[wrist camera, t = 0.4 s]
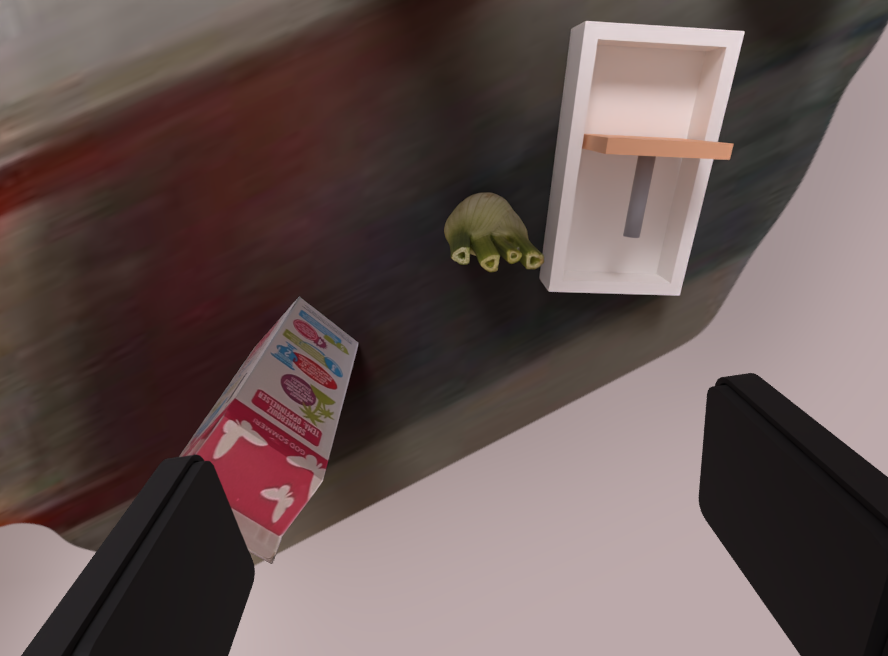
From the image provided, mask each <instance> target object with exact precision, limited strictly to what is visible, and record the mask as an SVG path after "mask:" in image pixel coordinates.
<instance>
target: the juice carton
mask: <svg viewBox="0 0 888 656" xmlns="http://www.w3.org/2000/svg"><path fill="white" fill-rule="evenodd" d="M358 344H359V343H358V342H357V341H356V340H354V339H353V338H352V337H350V336H349V335H348V334H347V333H345V332H344V331H343V330H341V329H340V328H339V327H338V326H336V325H335V324H334V323H333V322H331V321H330V320H329V319H327V318H326V317H325V316H324V315H322V314H321V313H320V312H319V311H317V310H316V309H315V308H313V307H312V306H311V305H310V304H308V303H307V302H306V301H304V300H303V299H302V298H301V297H298V299H297V300H296V301H295V302H294V303H293V304H292V305H291V307H290V308H289V309H288V310H287V311H286V312H285V313H284V315H283V316H282V317H281V318H280V319H279V320H278V321H277V322H276V324H275V325H274V326H273V327H272V328H271V329H270V330H269V332H268V333H267V334H266V335H265V336H264V337H263V338H262V340H261V341H260V342H259V343H258V344H257V345H256V346H255V348H254V349H253V350H252V352H251V353H250V355H249V356H248V358H247V359H246V361H245V362H244V363H243V365H242V366H241V368H240V369H239V371H238V372H237V374H236V375H235V376H234V378H233V379H232V381H231V382H230V384H229V385H228V387H227V388H226V389H225V391H224V392H223V394H222V395H221V397H220V398H219V400H218V401H217V403H216V404H215V405H214V407H213V408H212V410H211V411H210V413H209V414H208V416H207V417H206V418H205V420H204V421H203V423H202V424H201V426H200V427H199V429H198V430H197V432H196V433H195V434H194V436H193V437H192V439H191V440H190V442H189V443H188V445H187V446H186V447H185V449H184V450H183V452H182V453H181V455H180V456H179V457H182V456H189V455H200V456H201V457H202V458H203V459H204V461H210V462H211V463H213V465H214V467H215V469H216V472H217V474H218V477H219V479H220V482H221V484H222V487H223V489H224V492H225V494H226V496H227V499H228V501H229V504H230V506H231V509H232V511H233V514H234V516H235V519H236V521H237V523H238V526H239V528H240V531H241V533H242V536H243V538H244V541H245V543H246V546H247V548H248V550H249V552H251V553H253V554H255V555H256V556H258V557H260V558H262V559H263V560H265V561H267V562H269V563H270V564H272V563H273V561H274V559H275V556H276V553H277V550H278V548H279V545H280V542H281V539H282V538H281V537H282V536H283V534H284V533H285V532H286V530H287V529H288V528H289V526H290V525H291V524H292V522H293V521H294V520H295V518H296V517H297V516H298V514H299V513H300V512H301V510H302V509H303V508H304V506H305V505H306V504H307V502H308V501H309V500H310V498H311V497H312V496H313V494H314V493H315V492H316V490H317V489H318V487H319V486H320V484H321V483H322V481H323V479H324V476H325V472H326V468H327V464H328V460H329V456H330V452H331V449H332V445H333V441H334V437H335V433H336V429H337V425H338V421H339V417H340V413H341V409H342V406H343V402H344V398H345V394H346V390H347V386H348V383H349V379H350V375H351V371H352V367H353V363H354V360H355V356H356V352H357V348H358ZM271 562H272V563H271Z"/></svg>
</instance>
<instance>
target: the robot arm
mask: <svg viewBox="0 0 888 656" xmlns="http://www.w3.org/2000/svg"><path fill="white" fill-rule="evenodd" d="M699 505H700V509H701V512H702V514H703V516H704V518H705V519H706V521H707V522H708V524H709V525H710V527H711V528H712V530H713V531H714V532H715V534H716V535H717V537H718V538H719V540H720V541H721V542H722V544H723V545H724V547H725V548H726V550H727V551H728V552H729V554H730V555H731V557H732V558H733V560H734V561H735V562H736V564H737V565H738V567H739V568H740V570H741V571H742V572H743V574H744V575H745V577H746V578H747V580H748V581H749V582H750V584H751V585H752V587H753V588H754V590H755V591H756V592H757V594H758V595H759V597H760V598H761V600H762V601H763V602H764V604H765V605H766V607H767V608H768V610H769V611H770V612H771V614H772V615H773V617H774V618H775V619H776V621H777V622H778V624H779V625H780V627H781V628H782V630H783V631H784V632H785V634H786V635H787V637H788V638H789V640H790V641H791V642H792V644H793V645H794V647H795V648H796V650H797V651H798V652H799V654H800V655H801V656H888V477H887V476H886V475H884V474H883V473H882V472H881V471H879V470H878V469H877V468H875V467H874V466H873V465H871V464H870V463H869V462H868V461H866V460H865V459H864V458H863V457H861V456H860V455H859V454H858V453H856V452H855V451H854V450H852V449H851V448H850V447H849V446H847V445H846V444H845V443H844V442H842V441H841V440H840V439H838V438H837V437H836V436H835V435H833V434H832V433H831V432H829V431H828V430H827V429H826V428H824V427H823V426H822V425H821V424H819V423H818V422H817V421H815V420H814V419H813V418H812V417H810V416H809V415H808V414H807V413H805V412H804V411H803V410H801V409H800V408H799V407H798V406H796V405H795V404H793V403H792V402H791V401H790V400H789V399H787V398H786V397H785V396H784V395H782V394H781V393H780V392H778V391H777V390H776V389H775V388H773V387H772V386H771V385H770V384H768V383H767V382H766V381H764V380H763V379H762V378H761V377H759V376H758V375H756V374H754V373H748V374H742V375H734V376H728V377H721V378H719V379H718V380H717V382H716V384H715V386H714V387H711V388H709V390H708V393H707V402H706V415H705V427H704V440H703V452H702V464H701V476H700V489H699ZM254 575H255V570H254V563H253V560H252V558H251V555H250V553H249V550H248V548H247V546H246V543H245V541H244V538H243V536H242V533H241V531H240V528H239V526H238V523H237V521H236V519H235V516H234V514H233V511H232V509H231V506H230V504H229V501H228V499H227V496H226V494H225V492H224V489H223V487H222V484H221V482H220V479H219V477H218V474H217V472H216V469H215V467H214V465H213V463H211V462H210V461H204V459H203V458H202V457H201V456H200V455H189V456H182V457H176V458H169V459H166V460H164V461H163V462H162V463H161V464H160V465H159V466H158V468H157V469H156V471H155V472H154V473H153V475H152V476H151V477H150V479H149V480H148V482H147V483H146V484H145V486H144V487H143V488H142V490H141V491H140V493H139V494H138V495H137V497H136V498H135V499H134V501H133V502H132V504H131V505H130V506H129V508H128V509H127V511H126V512H125V513H124V515H123V516H122V517H121V519H120V520H119V522H118V523H117V524H116V526H115V527H114V528H113V530H112V531H111V533H110V534H109V535H108V537H107V538H106V539H105V541H104V542H103V544H102V545H101V546H100V548H99V549H98V550H97V552H96V553H95V555H94V556H93V557H92V559H91V560H90V562H89V563H88V564H87V566H86V567H85V568H84V570H83V571H82V573H81V574H80V575H79V577H78V578H77V579H76V581H75V582H74V584H73V585H72V586H71V588H70V589H69V590H68V592H67V593H66V595H65V596H64V597H63V599H62V600H61V602H60V603H59V604H58V606H57V607H56V609H55V610H54V611H53V613H52V614H51V615H50V617H49V618H48V620H47V621H46V623H45V624H44V625H43V626H42V628H41V629H40V631H39V632H38V633H37V635H36V636H35V637H34V639H33V640H32V642H31V643H30V644H29V646H28V647H27V648H26V650H25V651H24V652H23V654H22V655H21V656H228V654H229V652H230V649H231V646H232V642H233V640H234V637H235V634H236V631H237V628H238V626H239V622H240V620H241V617H242V614H243V611H244V608H245V605H246V602H247V600H248V597H249V594H250V590H251V588H252V585H253V582H254Z"/></svg>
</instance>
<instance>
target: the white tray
mask: <svg viewBox="0 0 888 656" xmlns="http://www.w3.org/2000/svg"><path fill="white" fill-rule="evenodd" d="M744 33H745V31H734V30H718V29H703V28H687V27H671V26H656V25H640V24H624V23H609V22H593V21H585V22H583V23H581V24H579V25H577V26H575V27H574V28H572V29H571V33H570V41H569V49H568V57H567V65H566V72H565V80H564V88H563V96H562V104H561V112H560V119H559V127H558V135H557V143H556V151H555V159H554V166H553V174H552V182H551V190H550V198H549V206H548V213H547V221H546V229H545V237H544V245H543V253H542V254H543V255H544V261H545V262H544V263H543V264H542V265H541V268H540V276H539V279H540V280H541V282H542V283H543V284H544V286H545V287H546V289H547V290H548V291H549V292H575V293H609V294H643V295H676V296H680V292H681V288H682V284H683V280H684V276H685V272H686V268H687V264H688V260H689V256H690V252H691V248H692V244H693V240H694V236H695V232H696V228H697V223H698V219H699V215H700V211H701V207H702V203H703V199H704V195H705V191H706V187H707V183H708V179H709V175H710V171H711V167H712V163H713V159H701V158H679V157H658V156H656V159H655V164H654V169H653V174H652V179H651V184H650V189H649V193H648V198H647V203H646V208H645V213H644V218H643V223H642V228H641V233H640V237H639V238H630V237H625V236H623V233H624V228H625V223H626V217H627V212H628V207H629V202H630V196H631V191H632V186H633V181H634V175H635V170H636V165H637V159H638V156H637V155H616V154H603V153H599V152H595V151H591V150H586V149H582V144H583V138H584V134H602V135H623V136H643V137H663V138H683V139H693V140H703V141H712V142H718V138H719V134H720V130H721V126H722V122H723V118H724V114H725V110H726V106H727V102H728V98H729V94H730V90H731V86H732V81H733V77H734V73H735V69H736V65H737V61H738V57H739V53H740V49H741V45H742V41H743V37H744Z"/></svg>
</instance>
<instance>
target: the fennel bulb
mask: <svg viewBox="0 0 888 656" xmlns="http://www.w3.org/2000/svg"><path fill="white" fill-rule="evenodd" d="M444 233H445V237H446V239H447V241H448V243H449V245H450V250H451V259H453V260H454V261H456V262H458V263H459V264H460V265H467V264H468V263H469V262H470V254H472V255H475V256H477V259H478V262H479V263H480V265H481V266H482V267H483V268H484V269H485V270H487V271H488V272H496V271H497V270H498V265H499V259H500V256H502V257H503V258H504V259H505V260H506V261H507V262H509V263H510V264H513V263H516V262H518V261H520V262H521V263H522V264H523V265H524V267H525V268H526V269H536V268H539V267H540V266H541V265H542V264H543V263H544V262H545V261H544V255H543V254H542V253H541V252H540V251H539V250H538V249H537V248H535V247H534V246H533V245H532V243H531V242H530V241H529V240H528V234H527V230H526V227H525V225H524V224H523V222H522V220H521V219H520V217H519V216H518V215H517V214H516V213H515V212H514V210H513V209H512V207H511V206H510V205H509V203H508V202H507V201H506V200H505V199H504V198H503V197H501V196H499V195H497V194H494V193H489V192H487V193H477V194H474V195H471V196H469V197H467V198H466V199H465V200H464V201H462V202H461V203H460V204H459V205H458V206H457V207H456V208H455V209H454V211H453V212H452V213H451V215H450V216H449V217H448V219H447V221H446V223H445V227H444Z"/></svg>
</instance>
